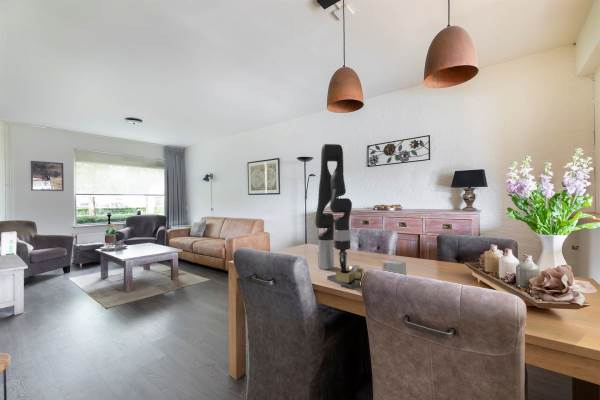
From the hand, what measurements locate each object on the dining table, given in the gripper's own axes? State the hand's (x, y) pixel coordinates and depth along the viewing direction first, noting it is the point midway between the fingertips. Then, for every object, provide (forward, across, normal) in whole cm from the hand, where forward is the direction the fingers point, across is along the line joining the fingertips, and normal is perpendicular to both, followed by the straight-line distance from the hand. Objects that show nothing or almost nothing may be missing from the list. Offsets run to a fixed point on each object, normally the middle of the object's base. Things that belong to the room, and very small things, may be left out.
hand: (343, 274), depth 127 cm
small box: (+5, +6, +23) cm, 24 cm away
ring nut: (+3, -5, +3) cm, 6 cm away
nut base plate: (+4, -6, +3) cm, 8 cm away
